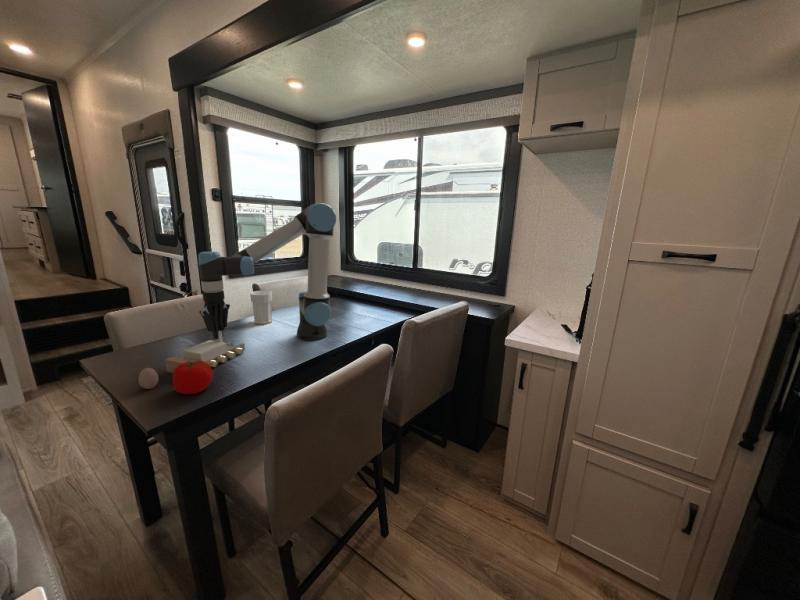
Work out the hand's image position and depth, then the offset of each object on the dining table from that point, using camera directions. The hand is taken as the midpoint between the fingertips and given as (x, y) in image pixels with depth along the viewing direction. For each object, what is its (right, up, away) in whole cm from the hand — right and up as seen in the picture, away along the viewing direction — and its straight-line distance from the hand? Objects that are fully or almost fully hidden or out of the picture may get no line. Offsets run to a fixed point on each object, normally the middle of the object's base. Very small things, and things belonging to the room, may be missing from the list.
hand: (219, 345), depth 132 cm
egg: (-9, -11, -25) cm, 29 cm away
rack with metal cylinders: (-1, -6, -3) cm, 7 cm away
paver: (-2, -3, -6) cm, 7 cm away
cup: (-2, +6, +47) cm, 48 cm away
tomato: (+6, -12, -25) cm, 29 cm away
